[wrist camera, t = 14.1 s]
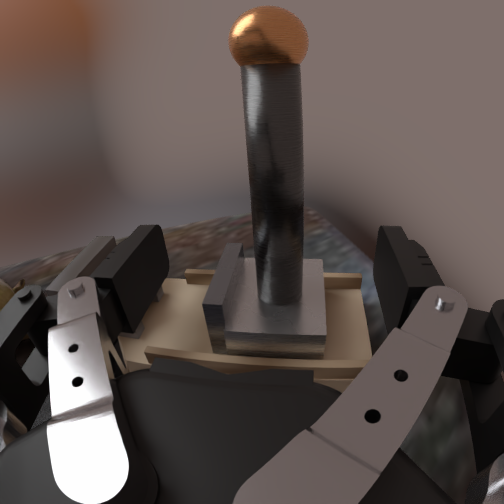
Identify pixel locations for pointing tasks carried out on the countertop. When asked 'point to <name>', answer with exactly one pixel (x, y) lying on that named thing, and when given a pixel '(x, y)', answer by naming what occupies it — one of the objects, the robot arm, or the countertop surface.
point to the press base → (196, 333)
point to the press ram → (270, 206)
